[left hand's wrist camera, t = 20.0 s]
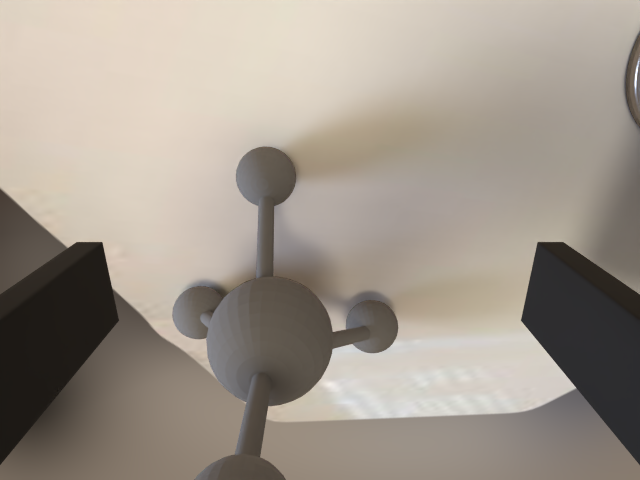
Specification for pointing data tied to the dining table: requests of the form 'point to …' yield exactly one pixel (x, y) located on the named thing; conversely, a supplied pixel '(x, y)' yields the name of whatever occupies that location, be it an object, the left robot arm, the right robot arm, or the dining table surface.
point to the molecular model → (270, 326)
